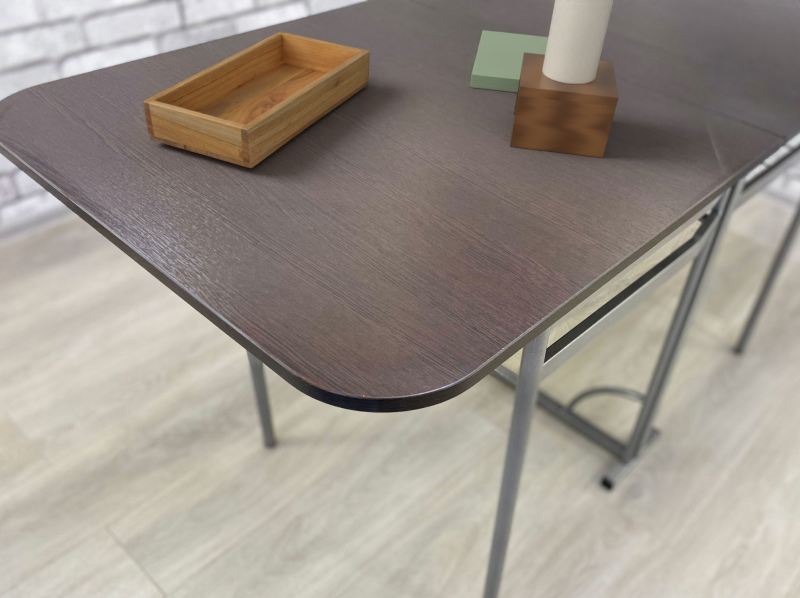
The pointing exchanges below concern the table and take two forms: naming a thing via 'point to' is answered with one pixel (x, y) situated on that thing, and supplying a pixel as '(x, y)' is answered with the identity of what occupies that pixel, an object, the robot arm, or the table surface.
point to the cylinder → (576, 40)
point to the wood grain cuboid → (563, 110)
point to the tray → (257, 98)
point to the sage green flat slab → (503, 59)
